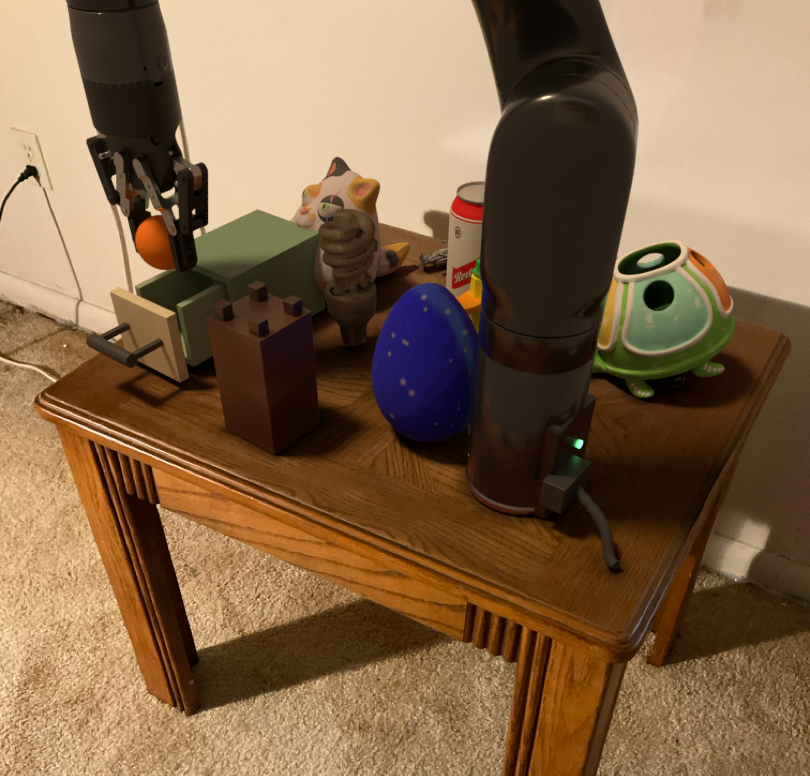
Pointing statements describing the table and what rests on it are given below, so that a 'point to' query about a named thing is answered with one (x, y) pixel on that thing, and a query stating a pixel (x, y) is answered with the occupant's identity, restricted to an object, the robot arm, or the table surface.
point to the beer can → (464, 236)
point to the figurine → (346, 193)
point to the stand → (265, 367)
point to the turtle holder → (664, 317)
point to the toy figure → (473, 296)
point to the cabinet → (262, 258)
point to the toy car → (670, 381)
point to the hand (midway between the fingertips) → (166, 259)
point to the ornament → (426, 365)
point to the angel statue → (435, 257)
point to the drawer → (163, 322)
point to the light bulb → (350, 273)
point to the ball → (154, 243)
